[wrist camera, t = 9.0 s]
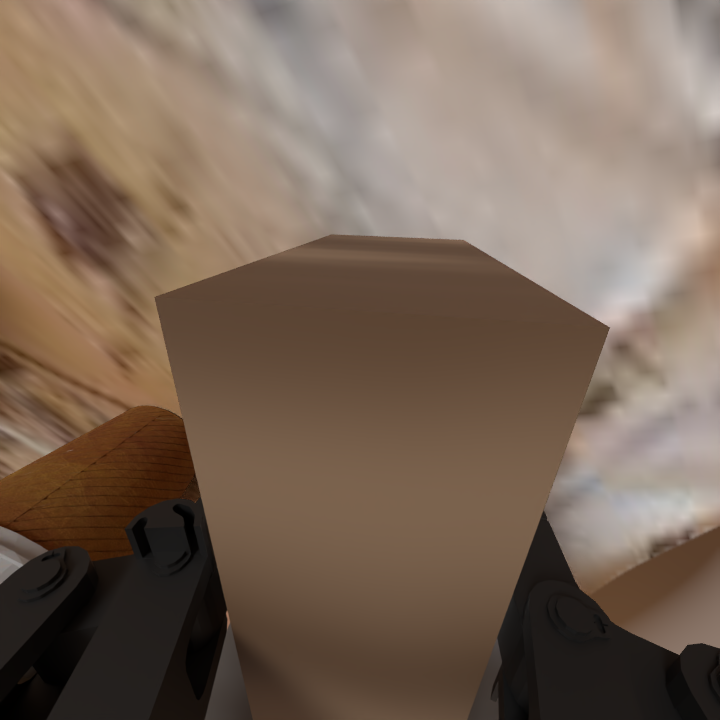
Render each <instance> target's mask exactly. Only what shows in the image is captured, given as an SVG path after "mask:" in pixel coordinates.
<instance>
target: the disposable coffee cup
mask: <svg viewBox="0 0 720 720" xmlns="http://www.w3.org/2000/svg"><path fill="white" fill-rule="evenodd" d="M194 475H195V469H194V465H193V460H192V456H191V452H190V447H189V443H188V439H187V435H186V430H185V426H184V422H183V420H182V419H181V418H179V417H178V416H176V415H175V414H173V413H171V412H169V411H167V410H164V409H161V408H157V407H153V406H138V407H134V408H131V409H129V410H128V411H126V412H124V413H123V414H121V415H119V416H117V417H115V418H113V419H112V420H110V421H108V422H106V423H104V424H102V425H101V426H99V427H97V428H95V429H93V430H91V431H90V432H88V433H86V434H84V435H82V436H80V437H79V438H77V439H75V440H73V441H71V442H69V443H68V444H66V445H64V446H62V447H60V448H58V449H57V450H55V451H53V452H51V453H49V454H48V455H46V456H44V457H42V458H40V459H38V460H36V461H34V462H33V463H31V464H29V465H27V466H25V467H23V468H21V469H20V470H18V471H16V472H14V473H12V474H10V475H9V476H7V477H5V478H3V479H2V480H0V584H1V583H2V582H3V581H5V580H6V579H7V578H8V577H9V576H10V575H11V574H12V573H14V572H15V571H16V570H18V569H19V568H20V567H22V566H23V565H24V564H26V563H27V562H28V561H30V560H31V559H33V558H35V557H37V556H39V555H41V554H43V553H45V552H47V551H50V550H53V549H57V548H60V547H64V546H79V547H81V548H83V549H85V550H87V552H88V554H89V556H90V558H91V560H92V561H97V560H103V559H109V558H115V557H121V556H127V555H132V554H134V552H133V550H132V547H131V545H130V542H129V539H128V537H127V534H126V532H125V528H126V527H127V525H128V524H129V523H130V522H131V521H132V520H133V519H134V517H136V516H137V515H138V514H140V513H141V512H143V511H144V510H145V509H147V508H148V507H150V506H153V505H155V504H157V503H160V502H162V501H166V500H172V499H177V498H179V499H180V498H181V496H182V495H183V493H184V491H185V490H186V488H187V486H188V485H189V483H190V481H191V480H192V478H193V477H194Z"/></svg>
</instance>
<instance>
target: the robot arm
mask: <svg viewBox="0 0 720 720" xmlns="http://www.w3.org/2000/svg"><path fill="white" fill-rule="evenodd" d="M125 532H126V534H127V537H128V539H129V542H130V545H131V547H132V550H133V552H134V554H132V555H127V556H121V557H115V558H109V559H103V560H97V561H92V560H91V558H90V556H89V554H88V552H87V550H85V549H83V548H81V547H79V546H64V547H60V548H57V549H53V550H50V551H47V552H45V553H43V554H41V555H39V556H37V557H35V558H33V559H31V560H30V561H28V562H27V563H26V564H24V565H23V566H22V567H20V568H19V569H18V570H16V571H15V572H14V573H12V574H11V575H10V576H9V577H8V578H7V579H6V580H5V581H3V582H2V583H1V584H0V720H205V717H206V713H207V709H208V705H209V701H210V697H211V693H212V689H213V685H214V681H215V677H216V673H217V669H218V665H219V661H220V657H221V653H222V649H223V645H224V641H225V637H226V633H227V621H228V619H227V615H226V612H227V606H226V602H225V598H224V594H223V589H222V585H221V581H220V576H219V572H218V568H217V563H216V559H215V555H214V551H213V546H212V542H211V538H210V533H209V529H208V525H207V520H206V516H205V512H204V508H203V503H202V499H201V497H200V498H199V499H198V501H197V502H196V503H194V502H193V501H191V500H187V499H179V498H177V499H172V500H166V501H162V502H160V503H157V504H155V505H153V506H150V507H148V508H147V509H145V510H144V511H143V512H141V513H140V514H138V515H137V516H136V517H134V519H133V520H132V521H131V522H130V523H129V524H128V525H127V527H126V528H125ZM497 640H498V645H499V649H500V654H501V659H502V664H501V666H500V669H499V671H498V674H497V676H496V679H495V681H494V684H493V686H492V692H491V698H490V700H492V701H494V702H496V701H497V699H498V708H499V720H720V648H716V647H713V646H709V645H706V644H703V643H700V644H693V645H687V646H686V648H685V649H684V650H683V651H682V653H681V654H680V655H678V654H676V653H673V652H671V651H669V650H667V649H665V648H663V647H660V646H658V645H656V644H654V643H651V642H649V641H647V640H645V639H643V638H640V637H638V636H636V635H634V634H632V633H630V632H628V631H626V630H624V629H622V628H621V627H619V626H617V625H615V624H614V623H613V622H611V621H610V619H609V618H608V616H607V615H606V614H605V613H604V612H603V610H602V609H601V608H600V607H599V605H598V604H597V603H596V602H595V601H594V600H593V599H591V598H590V597H589V596H588V595H586V594H585V593H584V592H582V591H581V590H580V589H579V587H578V585H577V584H576V582H575V580H574V578H573V575H572V573H571V571H570V569H569V566H568V564H567V562H566V560H565V557H564V555H563V553H562V550H561V548H560V546H559V544H558V541H557V539H556V537H555V535H554V532H553V530H552V528H551V526H550V523H549V521H547V517H546V514H545V512H544V510H543V513H542V515H541V518H540V521H539V524H538V526H537V529H536V532H535V535H534V537H533V540H532V543H531V546H530V548H529V551H528V554H527V557H526V559H525V562H524V565H523V568H522V570H521V573H520V576H519V579H518V581H517V584H516V587H515V590H514V592H513V595H512V598H511V601H510V603H509V606H508V609H507V612H506V614H505V617H504V620H503V623H502V625H501V628H500V631H499V634H498V636H497Z"/></svg>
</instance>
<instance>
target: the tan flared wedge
mask: <svg viewBox="0 0 720 720" xmlns="http://www.w3.org/2000/svg"><path fill="white" fill-rule="evenodd" d="M155 301H156V306H157V310H158V314H159V318H160V323H161V327H162V331H163V336H164V340H165V344H166V349H167V353H168V357H169V361H170V366H171V370H172V374H173V379H174V383H175V387H176V392H177V396H178V400H179V404H180V409H181V413H182V417H183V422H184V426H185V430H186V435H187V439H188V443H189V447H190V452H191V456H192V460H193V465H194V469H195V473H196V477H197V482H198V486H199V490H200V495H201V499H202V503H203V508H204V512H205V516H206V520H207V525H208V529H209V533H210V538H211V542H212V546H213V551H214V555H215V559H216V563H217V568H218V572H219V576H220V581H221V585H222V589H223V594H224V598H225V602H226V606H227V611H228V615H229V619H230V624H229V626H228V629H227V633H226V637H225V641H224V645H223V649H222V653H221V657H220V661H219V665H218V669H217V673H216V677H215V681H214V685H213V689H212V693H211V697H210V701H209V705H208V709H207V713H206V717H205V720H499V708H498V699H497V701H496V702H494V701H492V700H490V698H491V692H492V686H493V684H494V681H495V679H496V676H497V674H498V671H499V669H500V666H501V664H502V659H501V654H500V649H499V645H498V640H497V636H498V634H499V631H500V628H501V625H502V623H503V620H504V617H505V614H506V612H507V609H508V606H509V603H510V601H511V598H512V595H513V592H514V590H515V587H516V584H517V581H518V579H519V576H520V573H521V570H522V568H523V565H524V562H525V559H526V557H527V554H528V551H529V548H530V546H531V543H532V540H533V537H534V535H535V532H536V529H537V526H538V524H539V521H540V518H541V515H542V513H543V510H544V507H545V504H546V502H547V499H548V496H549V493H550V491H551V488H552V485H553V482H554V480H555V477H556V474H557V471H558V469H559V466H560V463H561V460H562V458H563V455H564V452H565V449H566V447H567V444H568V441H569V438H570V436H571V433H572V430H573V427H574V425H575V422H576V419H577V416H578V414H579V411H580V408H581V405H582V403H583V400H584V397H585V395H586V392H587V389H588V386H589V384H590V381H591V378H592V375H593V373H594V370H595V367H596V364H597V362H598V359H599V356H600V353H601V351H602V348H603V345H604V342H605V340H606V337H607V334H608V331H609V329H610V327H608V326H606V325H605V324H603V323H601V322H600V321H598V320H596V319H595V318H593V317H591V316H590V315H588V314H586V313H585V312H583V311H581V310H580V309H578V308H576V307H575V306H573V305H571V304H569V303H568V302H566V301H564V300H563V299H561V298H559V297H558V296H556V295H554V294H553V293H551V292H549V291H548V290H546V289H544V288H543V287H541V286H539V285H538V284H536V283H534V282H533V281H531V280H529V279H528V278H526V277H524V276H523V275H521V274H519V273H518V272H516V271H514V270H513V269H511V268H509V267H508V266H506V265H504V264H503V263H501V262H499V261H498V260H496V259H494V258H493V257H491V256H489V255H488V254H486V253H484V252H483V251H481V250H479V249H478V248H476V247H474V246H473V245H471V244H469V243H468V242H466V241H464V240H449V239H425V238H402V237H378V236H355V235H329V236H326V237H323V238H320V239H318V240H315V241H312V242H309V243H306V244H303V245H301V246H298V247H295V248H292V249H289V250H286V251H284V252H281V253H278V254H275V255H272V256H270V257H267V258H264V259H261V260H258V261H255V262H253V263H250V264H247V265H244V266H241V267H238V268H236V269H233V270H230V271H227V272H224V273H221V274H219V275H216V276H213V277H210V278H207V279H204V280H202V281H199V282H196V283H193V284H190V285H187V286H185V287H182V288H179V289H176V290H173V291H170V292H168V293H165V294H162V295H159V296H156V297H155Z"/></svg>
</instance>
